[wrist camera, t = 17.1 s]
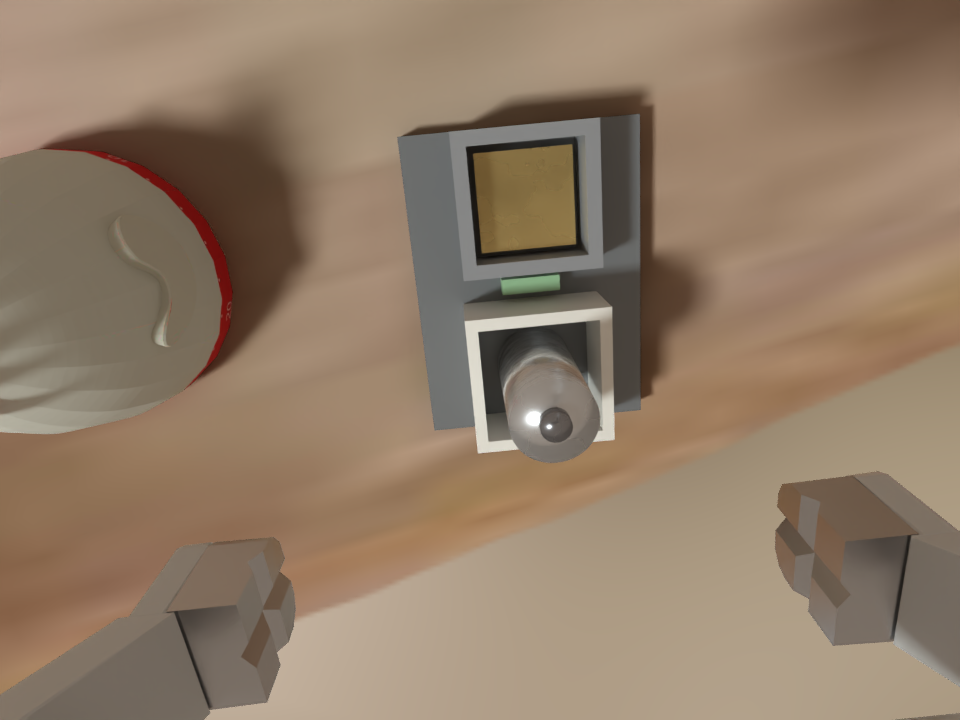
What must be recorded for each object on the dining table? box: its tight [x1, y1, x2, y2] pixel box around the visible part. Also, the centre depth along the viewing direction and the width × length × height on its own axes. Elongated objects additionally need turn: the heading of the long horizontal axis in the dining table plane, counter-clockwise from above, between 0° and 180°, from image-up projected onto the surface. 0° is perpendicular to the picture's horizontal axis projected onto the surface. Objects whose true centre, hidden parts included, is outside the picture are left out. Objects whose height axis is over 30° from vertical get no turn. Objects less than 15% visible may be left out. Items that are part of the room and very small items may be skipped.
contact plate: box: [473, 144, 576, 253], centre depth 30 cm, size 5×5×1 cm
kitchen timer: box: [0, 149, 233, 434], centre depth 26 cm, size 14×14×15 cm
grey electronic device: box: [397, 114, 641, 453], centre depth 31 cm, size 12×16×5 cm
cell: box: [498, 327, 600, 463], centre depth 30 cm, size 4×4×9 cm
